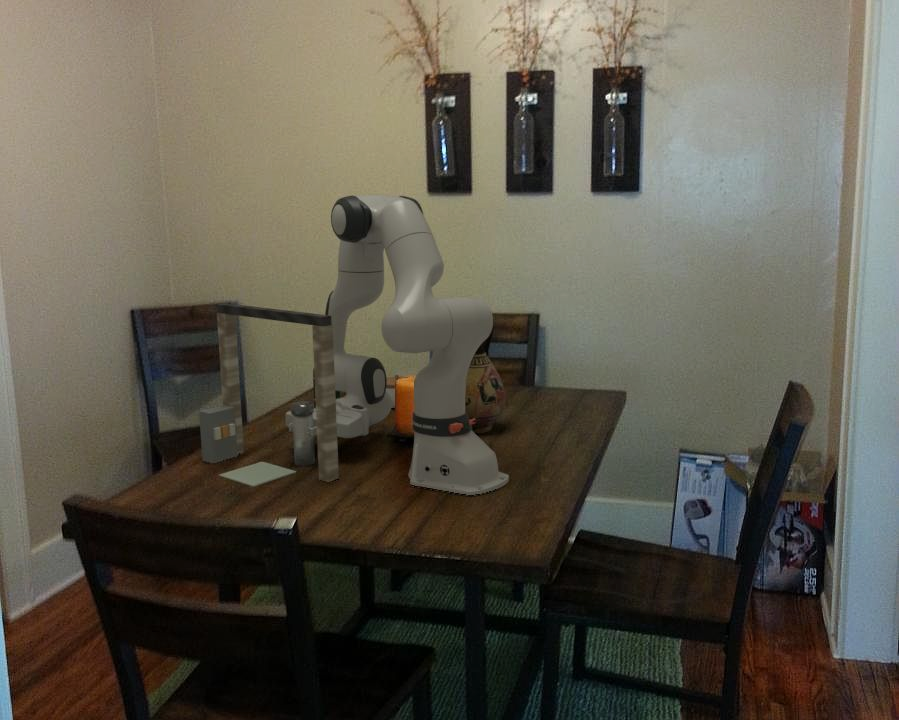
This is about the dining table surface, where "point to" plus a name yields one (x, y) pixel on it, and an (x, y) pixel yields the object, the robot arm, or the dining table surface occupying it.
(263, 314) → the arch
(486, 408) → the ceramic jug
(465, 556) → the dining table surface
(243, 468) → the sage mat
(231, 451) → the breaker box
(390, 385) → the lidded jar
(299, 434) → the frosted spice bottle
